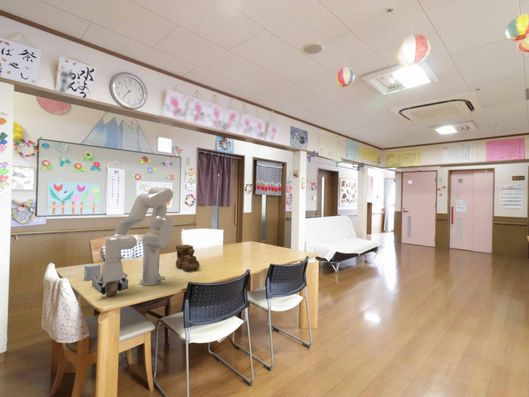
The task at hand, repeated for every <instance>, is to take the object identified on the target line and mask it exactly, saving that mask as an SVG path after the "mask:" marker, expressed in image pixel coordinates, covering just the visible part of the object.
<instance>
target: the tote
mask: <svg viewBox="0 0 529 397" xmlns="http://www.w3.org/2000/svg"><path fill="white" fill-rule="evenodd" d="M98 277H99V276H96V277H92V280H91V281H92V283H91V286H92V287H94V288H95V289H96V290H97V291H98V292H100V293H101V286H100V285H98V284H97V283H96V282H95V280H96V279H97V278H98ZM99 282H100V283H102V280H99ZM116 282H117V291H118V283H119V281H118V280H116ZM107 283H108V282H107ZM107 283H106V285H105V294H106V288H107ZM126 289H129V279H128V278H126V280H125V281H124V282H123V284H122V289H121V290H126Z"/></svg>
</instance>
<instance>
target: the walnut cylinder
mask: <svg viewBox="0 0 529 397" xmlns="http://www.w3.org/2000/svg"><path fill="white" fill-rule="evenodd" d="M117 294H118V290H117V282H116V281H111V282H108V283H107V288H106V293H105V296H106V298H114V297H116V296H117Z"/></svg>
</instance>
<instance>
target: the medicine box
mask: <svg viewBox="0 0 529 397" xmlns="http://www.w3.org/2000/svg"><path fill="white" fill-rule="evenodd" d="M101 269H102V266H101V264H99V263H95V264H88V265H84V271H83V272H84V274H83V276H84V277H83V279H84V280H85V281H92V277H96V276H101Z"/></svg>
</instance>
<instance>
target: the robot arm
mask: <svg viewBox="0 0 529 397" xmlns="http://www.w3.org/2000/svg"><path fill="white" fill-rule="evenodd" d="M173 198H174V192H173V190H172V189H171V188H168V187H151V188H150V189H149V190H148V192H147V193H140V194H138V195H137V197H136V198H135V201H134V202H133V205H132V207H131V210H130V211H129V214H128V216H127V217H126V218H124V219H123V220H122V222H120V223H119V224H118V225H117V227H116V228H115V230H114V233H113V235H112V236H109V237H107V238H106V239H105V248H104V249H105V251H104V262H102V266H101V268H100V276H99V277H98V278H97V279H96V280H95V282H96V283H97V284H98V285H100V286H101V292H100V293H101V294H102V295H103V296H104V295H105V296H106V293H105V285H106V283H107V282H111V281H116V280H118V281H119V283H118V290H117V292H122V290H123V289H122V284H123V282H124V281H125V280H126V279H128V277H129V274H127V273H125V272H124V269H123V263H122V262H123V261H122V260H124V256H122V250H131V249H134V248H135V247H136V246H137V243H138V240H137V239H136V237H135V236H133V235H128V234H127V233H128V232H129V230H130V229H132V228H133V227H135V226H136V225H140V224H141V223H143V222H144V220H145V218H146V215H147V213H148V210H149V209H152V211H151V215H150V219H149V223H148V228H149V229H151V230H153V231H154V232H153V231H151V232H150V231H148V232H146V233H145V234H143V235H142V238H141V239H142V240H141V241H142V242H141V244H142V250H143V251H142V252H143V257H142V258H143V260H142V277H141V278H142V279H140V280H139V284H140V285H142V286H155V285H158V284H161V283H162V281H166V277H165V276H161V274H160V255H161V254H160V250H165V249H167V248H168V247H169V245H170V244H171V239H172V235H173V232H174V231H173V230H174V227H175V223H174V220H173V218H172V217H171V216H167V212H168V211H167V210H168V206H167V203H168V202H170V201H171V200H172V199H173ZM155 231H156V232H155ZM99 280H102V283H100V282H99Z"/></svg>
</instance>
